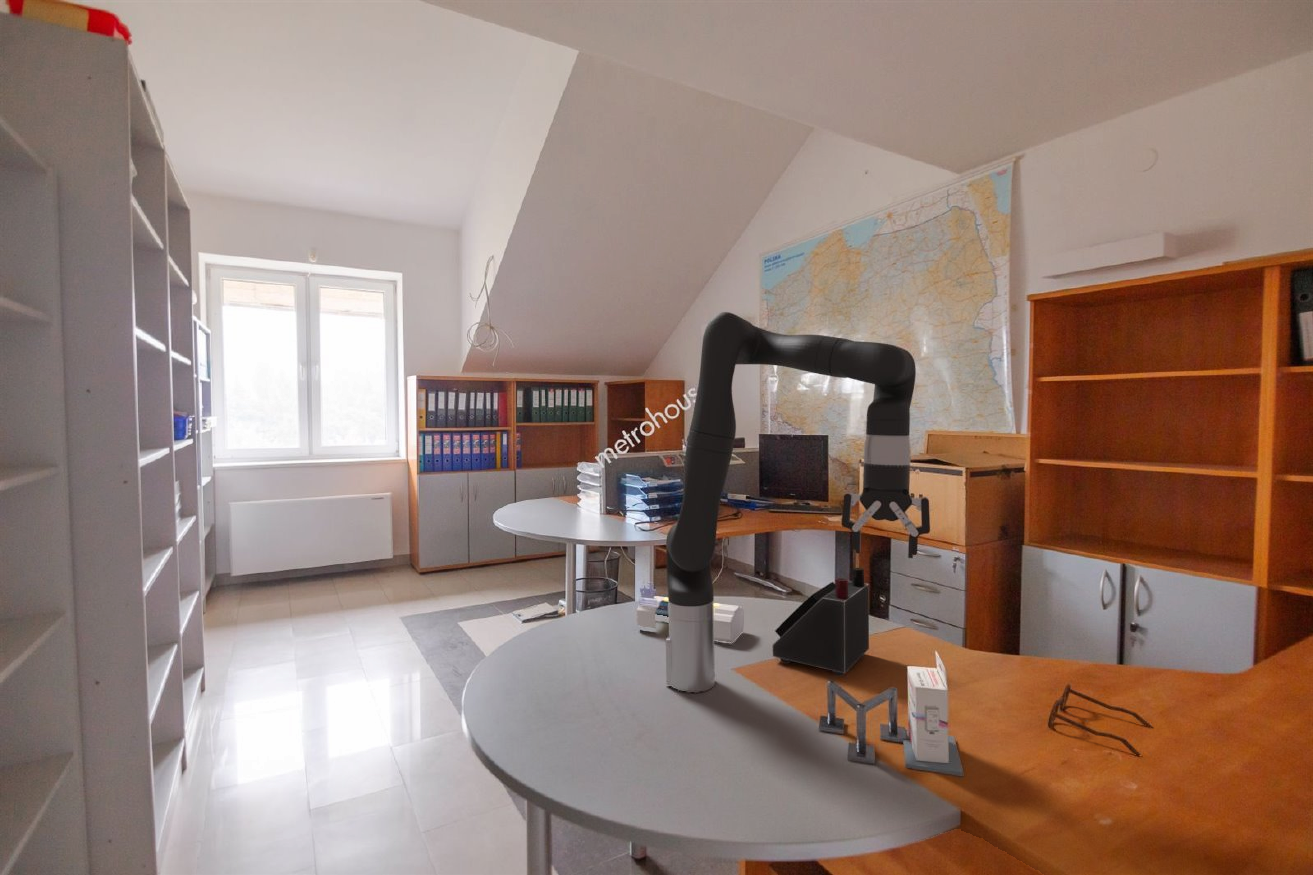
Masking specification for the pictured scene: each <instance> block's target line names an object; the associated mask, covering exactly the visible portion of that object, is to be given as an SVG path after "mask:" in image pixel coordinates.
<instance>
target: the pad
mask: <svg viewBox="0 0 1313 875" xmlns="http://www.w3.org/2000/svg"><path fill="white" fill-rule="evenodd" d="M905 730H906V740H904V739H903V743H902V744H903V753H904V761H905V762H904V763H905V768H907V769H912V770H920V771H926V772H932V773H940V774H944V775H945V774H946V775H953V776H957V777H964V770H963V766H962V762H961V758H960V754H959V751H958V747H957V744H956V740H955V739H956V738H955V736H954V735H948V738H949V763H937V762H927V761H917V760H916V757H915V754H914V751H913V747H912V744H911V741H910V737H909V734H908V729H905Z"/></svg>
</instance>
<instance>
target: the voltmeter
mask: <svg viewBox="0 0 1313 875" xmlns="http://www.w3.org/2000/svg"><path fill="white" fill-rule="evenodd" d="M851 576H852V578H851V580H849V579H847V578H843V577H840V578H839V577H837V578H835V582H834V581H832V582H830V583H828V584H827V585H825V586H824V587H822V588H820V589H819V590H817V591H816V592H814V593H812V594H811V595H810V596H809V597H808V598H806V600H805V601H804V602H803V603H801V604H800V605H799V606H798V607H797V608H796V609H795V610H794V611H793V612H792V613H791V614H790V615H789V616H788V617H787V618H786V619H785V620H784V621H783V622H782V623H781V624H779V626H778V627H777V628H776V629H775V630H774V632H775V633H776V634H777V635H778V636H779V638H778V639H777V640H776V641H775V642H774V643H773V644H772V657H774V658H776V659H780V662H781V663H782V664H790V663H791V662H796V663H799V664H802V665H803V664H804V665H809V666H813V667H817V668H821V669H826V670H830V671H832V672H833V675H834V676H838V677H841V676H844V674H845V673H847V672H848V671H849V670H850V669H851V668H852V667H853V666H854V664H856V663H857V661H859V659H860V658H862V657H863V655H864V654H865V653H866V652H867V651H868V650H869V649H870V622H869V621H870V612H869V610H870V607H869V606H870V603H869V602H870V600H869V597H870V596H869V595H870V594H869V592H870V590H869V588H870V587H869V586H870V584H869V583H866V582H865V571H864V568H861V567H853V568H852V575H851Z"/></svg>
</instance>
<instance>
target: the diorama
mask: <svg viewBox="0 0 1313 875" xmlns="http://www.w3.org/2000/svg"><path fill="white" fill-rule="evenodd" d="M647 585H648V587H649V588H648V587H647ZM647 585H643V587H640V588H639V592H640V596H638V598H641V599H640V600H638V603H639V604H638V607H637V609H636V619H637V620H636V622H637V624H636V625H640V626H643V627H651V628H656V622H655V614H657V615H663V616H667V617H669V612H668V597H667V596H658V595H655V594H656V591H657V590H656V589H655V588H654V587H655V585H654V582H653V581H651V582H649V581H648V582H647ZM646 587H647V588H646ZM744 613H745V610H744V608H743V607H741V606H740V605H734V604H725V603H717V602H714V640H718V641H726V642H731V643H732V642H733V641H735V639H736V638H737V637H738V636H739V635H740V633H741V632H743V633H744V629H745V628H744V626H745V621H744V620H745V617H744V616H745V615H744ZM735 642H736V641H735Z"/></svg>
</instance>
